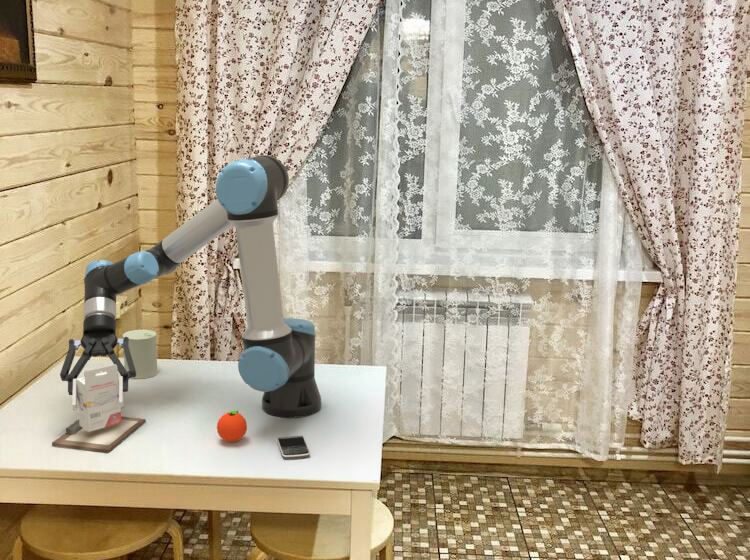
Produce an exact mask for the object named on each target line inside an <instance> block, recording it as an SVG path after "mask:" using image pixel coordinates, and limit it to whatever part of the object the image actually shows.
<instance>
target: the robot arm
mask: <svg viewBox="0 0 750 560" xmlns="http://www.w3.org/2000/svg"><path fill="white" fill-rule="evenodd" d="M289 183H290V178H289V172H288V169H287V168H286V166H285V164H284V163H283V162H282V161H281V160H279V159H278V158H276V157H274V156H271V155H266V154H262V155H256V156H252V157H251V156H250V157H245V158H242V159H237V160H234V161H233V162H231V163H228V164H227V165H226V166H224V167H223V169H222V170H221V171H220V173H218V176H217V178H216V182H215V195H216V199H215V200H214V201H212V202H211V203H210V204H208V205H207V206H205V207H204V208H203V209H202V210H200V211H199V212H198V213H196V214H195V215H194V216H192V217H191V218H189V219H188V220H187V221H186V222H185V223H183V224H181V226H179V227H178V228H177V229H175V230H174V231H172V232H171V233H170V234H169V235H167V236H166V237H165V238H163V239H162V240H160V241H159V242H158V243H157V244H155V245H154V246H153V247H151V248H149V249H146V250H140V251H138V252H135V253H132V254H130V255H128V256H127V257H124V258H122V259H120V260H118V261H116V262H114V263H113V262H112V261H110V260H107V259H100V260H92V261H91V262H89V263H88V264H87V266H86V268H85V274H84V279H83V282H84V300H83V322H82V323H83V326H82V327H83V328H82V330H83V331H82V337H81V338H80V339H77V340H74V339H73V338H70V339H69V340H68V351H67V353H66V355H65V359H64V361H63V364H62V367H61V370H60V373H59V376H60V379H61V381H62V382H67V393H68V395H69V396H72V397H71V400H72V401H71V405H72V408H73V409H72V410H77V411H78V398H77V384H76V379H78V377H79V375H80V374H81V372H82V370H83V369H84V368H85V366H86V365H87V363H88V361H90V359H91V358H93V357H107V356H108V358H109V359H110V361H111V362H112V363H113V364H112V365H114V364H116V365H117V368H118V374H120V376H119V375H118V377H119V405H120V407H121V408H122V407H124V393H128V392H129V380H130V379H132V377H136V370H135V366H134V363H133V360H132V357H131V353H130V350H129V338H128V337H124V339H123V338H118V337H117V320H116V319H117V297H118V295H121V294H123V293H125V292H128V291H130V290H133V289H134V288H137V287H139V286H142V285H146V284H147V283H149V282H152V281H153V280H156V279H157V278H160V277H162V276H165V275H168V274H170V273H173V272H174V271H175V270H177V269H178V268H179V266H180V264H182V263H184V261H186V260H187V259H188V258H190V257H192V256H193V255H194V254H195V253H197V252H198V251H199V250H201V249H202V248H204V247H205V246H207V245H208V244H209V243H210V242H212V241H213V240H215V239H216V238H217V237H220V235H222V234H223V233H225V232H226V231H227V230H229V229H230V228H231V227H233V226H234V228H235V234H236V240H237V241H236V242H237V248H238V249H237V251H238V258H239V259H238V260H239V265H240V266H239V267H240V276H241V283H242V284H241V285H242V291H243V298H244V308H245V315H246V316H245V317H246V324H247V328H246V329H245V330H244V331H243V333H242V335H241V336H242V344H243V351H242V353H241V355H240V356H239V359H238V363H237V368H238V373H239V375H240V378H241V379H242V381H243V382H244V383H245V384H246V385H248V386H249V387H250V388H251V389H253V390H255V391H258V392H261V393H262V392H263V395H262V397H261V407H262V408H261V409H262V410H263V411H264V412H265V413H267V414H269V415H271V416H275V417H281V418H301V417H307V416H310V415H313V414H316V413H317V412H319V409H321V408H322V397H321V396H322V395H321V394H320V390H319V387H318V385H317V382H316V378H315V369H316V367H315V365H316V361H315V360H316V336H317V335H316V329H315V325H314V323H313V322H312V321H310V320H307V319H302V318H295V317H294V318H291V317H284V312H283V303H282V302H283V301H282V294H281V292H282V291H281V284H280V277H279V275H280V274H279V268H278V266H279V265H278V259H277V257H278V256H277V249H276V239H275V230H274V222H275V221H276V219H277V218H278V217H279V209H278V207H279V206H278V201H279V200H281V199H282V198H283V197H284V195H285V194H286V192H287V190H288V189H289ZM117 345H119V346H120V348H122V350H123V355H124V354H125V357H126V361H127V364H128V367H129V370H130V371H126V369H125V368H124V365H123V363H122V362H121V359H119V356H117V354H116V353H115V350H114V349H115V347H117ZM80 346H81V347H82V348H83V349H84V350H83V351H82V353H81V356H80V357H79V358H78V360H77V362H76V363H75V365H74V366H73V368H72V370H71V367H72V365H73V362H74V359H75V356H76V351H78V350H79V348H80ZM70 370H71V371H70Z"/></svg>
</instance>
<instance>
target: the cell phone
mask: <svg viewBox="0 0 750 560" xmlns="http://www.w3.org/2000/svg"><path fill="white" fill-rule="evenodd" d="M276 440H277V444H278V448H279V451H280V453H281V456H282V458H283V460H297V459H298V460H300V458H301V459H308V458H309V457H310V456H311V452H310V449H309V447H308V444H307V443H306V440H305V438H304V436H303V435H294V436H281V437H277V438H276ZM307 457H308V458H307Z"/></svg>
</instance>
